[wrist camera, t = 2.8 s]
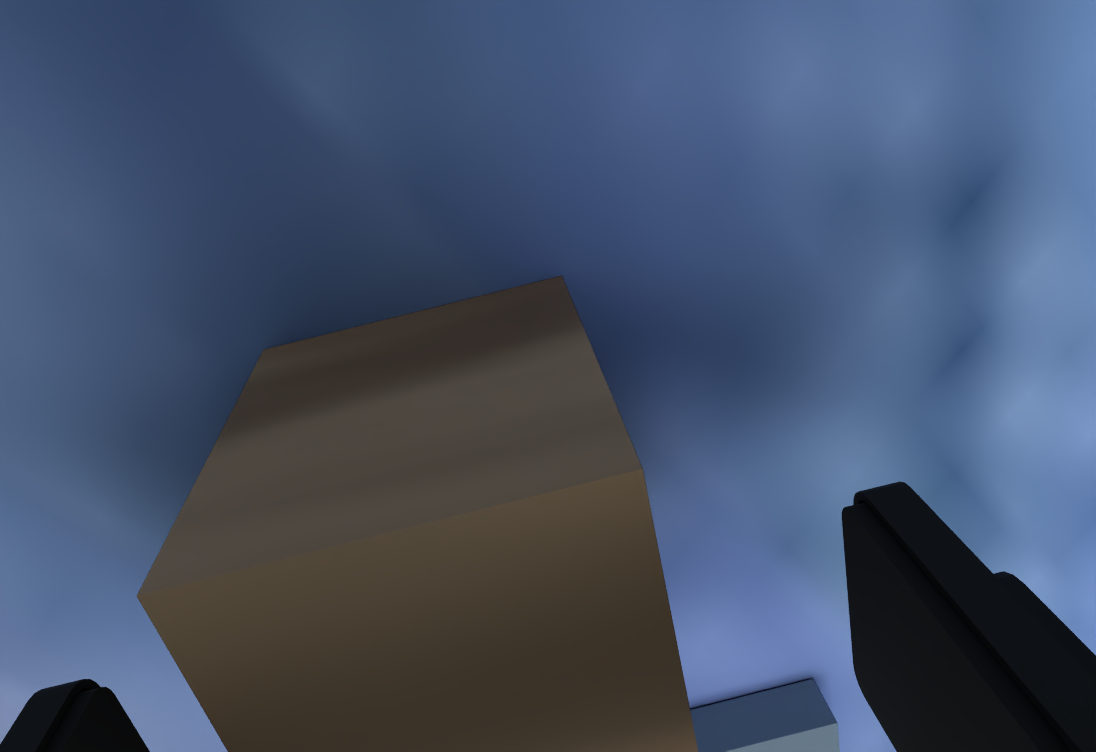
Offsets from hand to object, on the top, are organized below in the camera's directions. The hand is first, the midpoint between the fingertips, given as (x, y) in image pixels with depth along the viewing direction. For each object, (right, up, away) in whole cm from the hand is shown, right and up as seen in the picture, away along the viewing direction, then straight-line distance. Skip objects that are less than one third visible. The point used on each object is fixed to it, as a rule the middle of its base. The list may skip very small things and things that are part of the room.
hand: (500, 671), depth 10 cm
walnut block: (-1, +3, +4) cm, 5 cm away
